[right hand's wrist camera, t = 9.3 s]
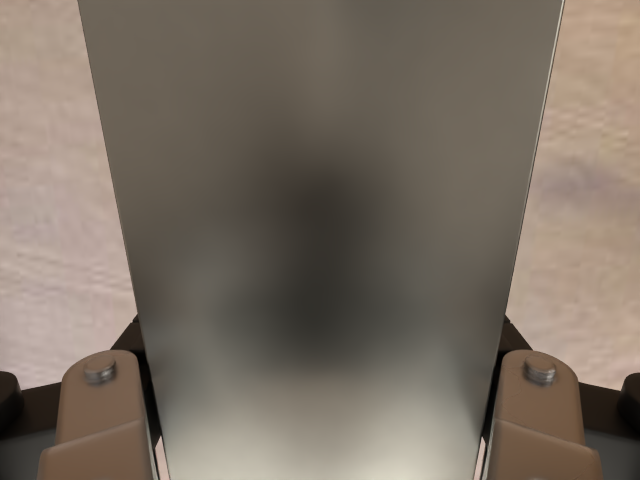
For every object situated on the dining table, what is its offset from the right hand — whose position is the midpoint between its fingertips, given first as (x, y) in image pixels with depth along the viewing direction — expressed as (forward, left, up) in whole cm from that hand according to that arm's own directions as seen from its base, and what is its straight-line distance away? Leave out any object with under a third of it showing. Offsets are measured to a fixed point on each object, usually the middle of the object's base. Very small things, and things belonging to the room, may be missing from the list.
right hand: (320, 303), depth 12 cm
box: (+3, +9, -6) cm, 11 cm away
